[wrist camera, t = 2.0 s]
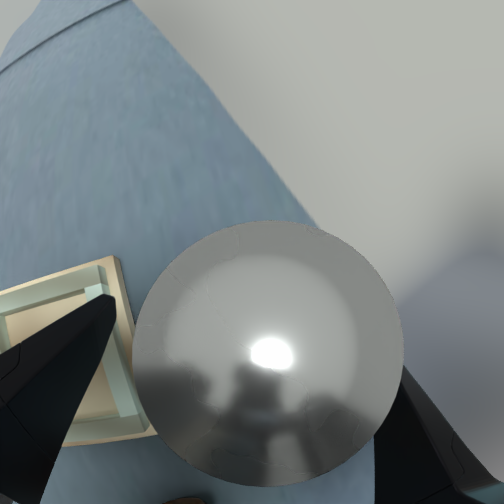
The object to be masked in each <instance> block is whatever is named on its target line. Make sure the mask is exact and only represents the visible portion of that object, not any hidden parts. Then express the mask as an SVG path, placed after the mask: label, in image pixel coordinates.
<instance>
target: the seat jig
mask: <svg viewBox="0 0 504 504" xmlns="http://www.w3.org/2000/svg"><path fill="white" fill-rule="evenodd" d="M101 294H108V295H111V296H114V297H115V300H116V311H117V318H116V322H115V325H114V327H113V330H112V333H111V335H110V338H109V341H108V343H107V346H106V349H105V351H104V354H103V357H102V359H101V362H100V364H99V366H98V368H97V370H96V372H95V374H94V376H93V378H92V380H91V382H90V384H89V386H88V388H87V391H86V393H85V395H84V397H83V399H82V401H81V403H80V406H79V408H78V410H77V412H76V414H75V417H74V419H73V421H72V423H71V426H70V428H69V430H68V432H67V435H66V437H65V439H64V442H63V444H62V446H61V447H65V446H78V445H88V444H98V443H106V442H114V441H121V440H128V439H134V438H140V437H146V436H152V435H157V434H158V433H157V432H156V431H155V429H154V428H153V426H152V424H151V423H150V421H149V419H148V418H147V416H146V414H145V412H144V409H143V407H142V405H141V402H140V400H139V397H138V393H137V390H136V386H135V382H134V375H133V367H132V345H133V338H134V332H135V324H134V320H133V317H132V313H131V309H130V305H129V301H128V297H127V292H126V288H125V284H124V279H123V275H122V270H121V265H120V261H119V259H118V258H116V257H115V256H113V255H111V256H108V257H105V258H102V259H98V260H95V261H92V262H89V263H85V264H82V265H79V266H76V267H73V268H70V269H66V270H63V271H60V272H57V273H54V274H51V275H48V276H45V277H42V278H39V279H36V280H33V281H30V282H27V283H24V284H21V285H18V286H15V287H12V288H9V289H6V290H3V291H0V354H1V353H3V352H5V351H6V350H8V349H10V348H11V347H13V346H15V345H16V344H18V343H21V341H23V340H25V339H26V338H28V337H30V336H31V335H33V334H34V333H36V332H38V331H39V330H41V329H43V328H44V327H46V326H48V325H49V324H51V323H53V322H54V321H56V320H58V319H59V318H61V317H63V316H65V315H66V314H68V313H70V312H71V311H73V310H75V309H76V308H78V307H80V306H82V305H83V304H85V303H87V302H88V301H90V300H92V299H94V298H95V297H97V296H99V295H101Z"/></svg>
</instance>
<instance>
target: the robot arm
mask: <svg viewBox="0 0 504 504" xmlns="http://www.w3.org/2000/svg"><path fill="white" fill-rule="evenodd" d="M116 318H117V311H116V300H115V297H114V296H111V295H108V294H101V295H99V296H97V297H95V298H94V299H92V300H90V301H88V302H87V303H85V304H83V305H82V306H80V307H78V308H76V309H75V310H73V311H71V312H70V313H68V314H66V315H65V316H63V317H61V318H59V319H58V320H56V321H54V322H53V323H51V324H49V325H48V326H46V327H44V328H43V329H41V330H39V331H38V332H36V333H34V334H33V335H31V336H30V337H28V338H26V339H25V340H23V341H21V343H18V344H16V345H15V346H13V347H11V348H10V349H8V350H6V351H5V352H3V353H1V354H0V504H12V503H13V501H15V502H17V503H19V504H40V501H41V498H42V495H43V493H44V490H45V487H46V485H47V482H48V479H49V477H50V474H51V472H52V469H53V466H54V464H55V463H54V462H55V461H56V459H57V456H58V454H59V451H60V449H61V446H62V444H63V442H64V439H65V437H66V435H67V432H68V430H69V428H70V426H71V423H72V421H73V419H74V417H75V414H76V412H77V410H78V408H79V406H80V403H81V401H82V399H83V397H84V395H85V393H86V391H87V388H88V386H89V384H90V382H91V380H92V378H93V376H94V374H95V372H96V370H97V368H98V366H99V364H100V362H101V359H102V357H103V354H104V351H105V349H106V346H107V343H108V341H109V338H110V335H111V333H112V330H113V327H114V325H115V322H116ZM374 458H375V503H374V504H504V483H503V482H501V481H499V480H497V479H495V478H494V477H493V476H492V475H491V474H490V473H489V472H488V471H487V469H486V468H485V467H484V466H483V465H482V464H481V462H480V461H479V460H478V459H477V458H476V457H475V456H474V454H473V453H472V452H471V451H470V450H469V449H468V448H467V446H466V445H465V444H464V442H463V441H462V440H461V438H460V437H459V436H458V435H457V433H456V432H455V431H453V428H452V427H451V425H450V424H449V423H448V421H447V420H446V419H445V417H444V416H443V415H442V413H441V412H440V411H439V410H438V408H437V407H436V406H435V404H434V403H433V402H432V400H431V399H430V398H429V397H428V395H427V394H426V393H425V392H424V391H423V389H422V388H421V386H420V385H419V384H418V383H417V381H416V380H415V379H414V378H413V376H412V375H411V374H410V372H409V371H408V370H407V369H406V367H405V366H404V365H403V369H402V375H401V380H400V384H399V387H398V391H397V394H396V397H395V399H394V402H393V404H392V406H391V409H390V411H389V413H388V414H387V416H386V418H385V419H384V421H383V423H382V424H381V426H380V427H379V429H378V430H377V431H376V433H375V434H374Z"/></svg>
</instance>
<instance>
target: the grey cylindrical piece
mask: <svg viewBox="0 0 504 504" xmlns="http://www.w3.org/2000/svg"><path fill="white" fill-rule="evenodd" d="M403 358H404V342H403V332H402V326H401V322H400V317H399V314H398V311H397V308H396V306H395V303H394V300H393V298H392V296H391V294H390V292H389V290H388V288H387V286H386V284H385V283H384V281H383V280H382V278H381V277H380V275H379V274H378V273H377V271H376V270H375V269H374V267H373V266H372V265H371V264H370V263H369V262H368V261H367V260H366V259H365V258H364V257H363V256H362V255H361V254H360V253H359V252H357V251H356V250H355V249H354V248H353V247H351V246H350V245H348V244H347V243H345V242H344V241H342V240H341V239H339V238H337V237H335V236H333V235H331V234H329V233H327V232H325V231H323V230H320V229H317V228H314V227H311V226H308V225H305V224H299V223H294V222H289V221H274V220H268V221H254V222H248V223H243V224H238V225H234V226H231V227H228V228H225V229H222V230H219V231H217V232H215V233H212V234H210V235H208V236H206V237H204V238H202V239H200V240H199V241H197V242H196V243H195V244H193V245H192V246H190V247H189V248H187V249H186V250H184V251H183V252H182V253H181V254H180V255H179V256H178V257H176V258H175V259H174V260H173V261H172V262H171V263H170V264H169V265H168V266H167V268H166V269H165V270H164V271H163V272H162V273H161V275H160V276H159V277H158V279H157V280H156V282H155V283H154V285H153V286H152V288H151V289H150V291H149V293H148V295H147V297H146V299H145V301H144V303H143V305H142V308H141V310H140V313H139V317H138V320H137V323H136V326H135V332H134V338H133V345H132V367H133V375H134V382H135V386H136V390H137V393H138V397H139V400H140V402H141V405H142V407H143V409H144V412H145V414H146V416H147V418H148V419H149V421H150V423H151V424H152V426H153V428H154V429H155V431H156V432H157V433H158V435H159V436H160V437H161V438H162V440H163V441H164V442H165V443H166V444H167V445H168V446H169V447H170V448H171V449H172V450H173V451H174V452H175V453H176V454H177V455H178V456H179V457H181V458H182V459H183V460H185V461H186V462H188V463H189V464H191V465H192V466H194V467H195V468H197V469H199V470H201V471H203V472H205V473H207V474H209V475H211V476H213V477H216V478H219V479H221V480H224V481H227V482H231V483H236V484H241V485H246V486H258V487H271V486H283V485H289V484H295V483H299V482H303V481H306V480H309V479H312V478H315V477H317V476H320V475H322V474H324V473H326V472H329V471H331V470H332V469H334V468H336V467H337V466H339V465H341V464H342V463H344V462H345V461H347V460H348V459H349V458H351V457H352V456H353V455H354V454H356V453H357V452H358V451H359V450H360V449H361V448H362V447H363V446H364V445H365V444H366V443H367V442H368V441H369V440H370V439H371V438H372V436H373V435H374V434H375V433H376V431H377V430H378V429H379V427H380V426H381V424H382V423H383V421H384V419H385V418H386V416H387V414H388V413H389V411H390V409H391V406H392V404H393V402H394V399H395V397H396V394H397V391H398V387H399V384H400V380H401V375H402V369H403Z"/></svg>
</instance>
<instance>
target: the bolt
mask: <svg viewBox="0 0 504 504" xmlns="http://www.w3.org/2000/svg"><path fill="white" fill-rule="evenodd" d="M163 504H206V503H205V502H204V501H202V500H201V499H199V498H179V499H176V500H172V501H168V502H165V503H163Z"/></svg>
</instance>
